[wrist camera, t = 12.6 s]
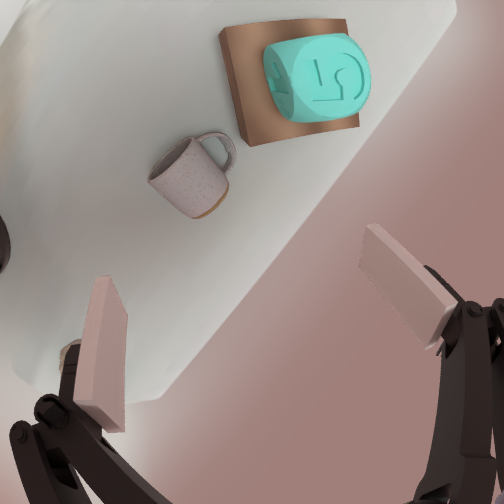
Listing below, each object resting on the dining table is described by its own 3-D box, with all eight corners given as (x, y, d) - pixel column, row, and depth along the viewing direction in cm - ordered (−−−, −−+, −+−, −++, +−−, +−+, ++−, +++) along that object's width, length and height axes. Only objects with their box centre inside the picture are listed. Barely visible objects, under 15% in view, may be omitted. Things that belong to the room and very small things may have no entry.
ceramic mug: (189, 208, 40) (192, 234, 34) (148, 169, 36) (143, 189, 30) (246, 159, 38) (261, 176, 32) (208, 115, 34) (215, 123, 28)
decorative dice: (256, 48, 26) (279, 41, 19) (324, 37, 26) (362, 31, 19) (275, 115, 30) (302, 128, 24) (339, 100, 30) (377, 111, 24)
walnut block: (240, 136, 37) (250, 147, 32) (218, 35, 29) (224, 27, 24) (337, 118, 38) (359, 126, 33) (323, 24, 30) (345, 18, 25)
